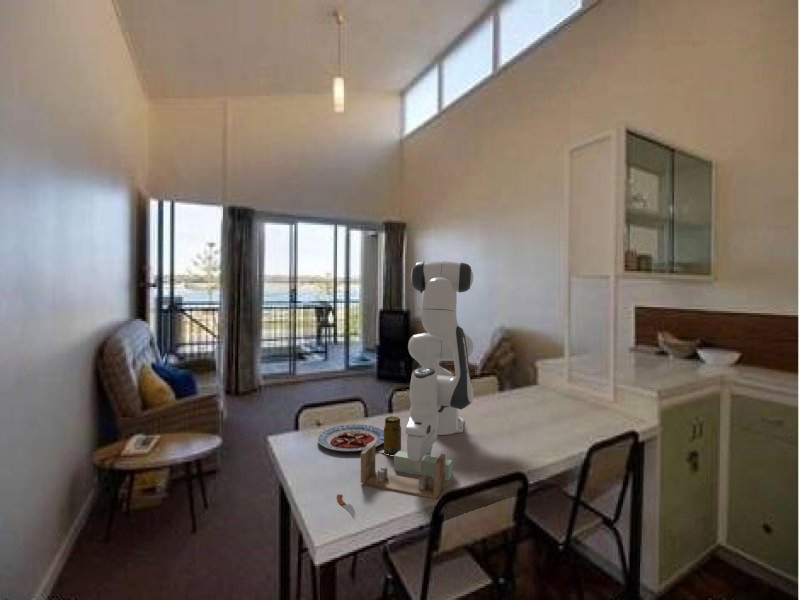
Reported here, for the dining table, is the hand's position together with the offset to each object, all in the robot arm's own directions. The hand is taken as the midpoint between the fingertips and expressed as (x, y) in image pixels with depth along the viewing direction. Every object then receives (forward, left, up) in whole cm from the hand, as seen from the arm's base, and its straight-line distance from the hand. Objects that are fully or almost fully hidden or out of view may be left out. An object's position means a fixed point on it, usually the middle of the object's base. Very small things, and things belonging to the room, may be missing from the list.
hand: (423, 464), depth 135 cm
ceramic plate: (-15, -32, -3) cm, 36 cm away
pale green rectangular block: (0, 0, -3) cm, 3 cm away
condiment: (-11, -14, -3) cm, 19 cm away
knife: (+26, -13, -3) cm, 29 cm away
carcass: (+10, -3, -3) cm, 11 cm away
